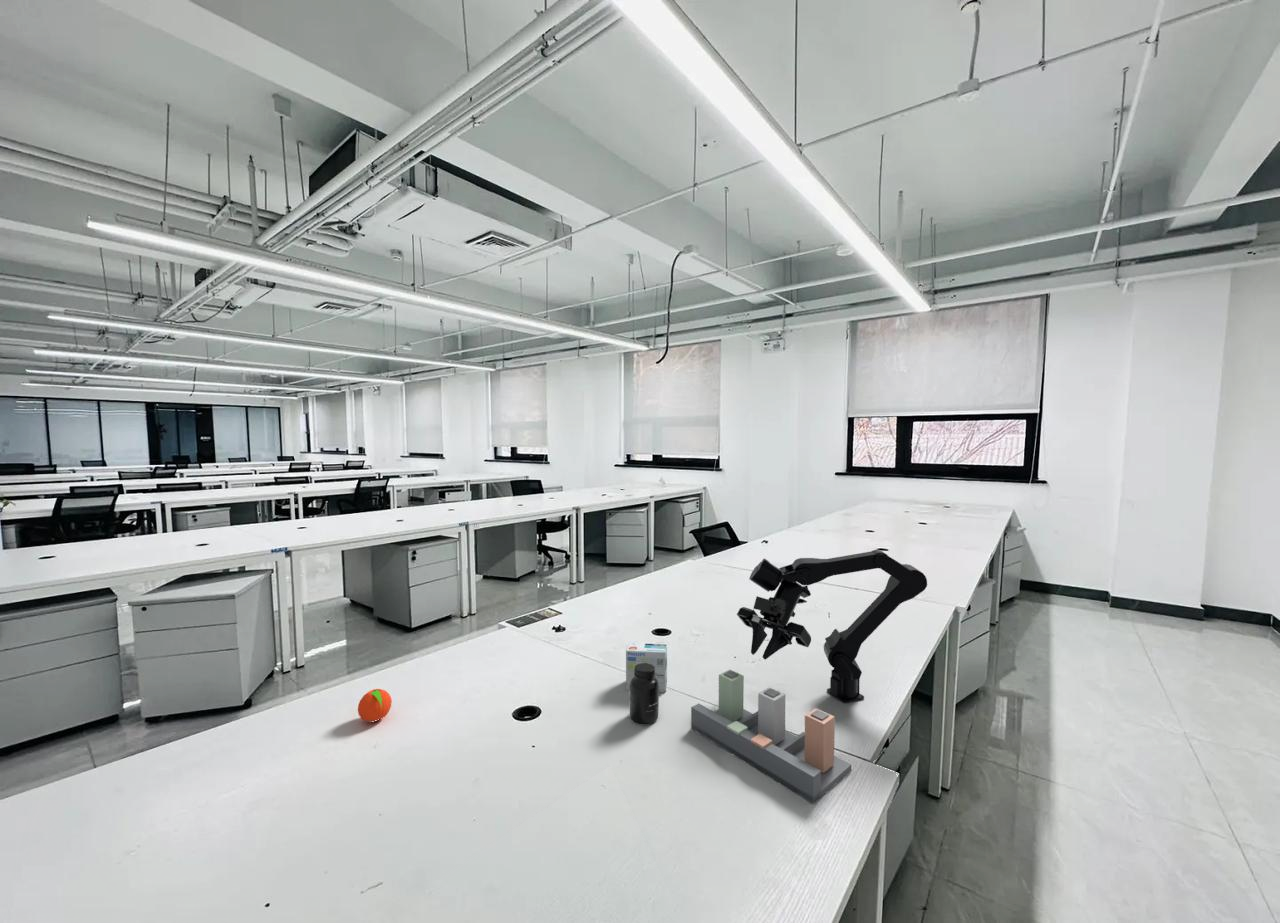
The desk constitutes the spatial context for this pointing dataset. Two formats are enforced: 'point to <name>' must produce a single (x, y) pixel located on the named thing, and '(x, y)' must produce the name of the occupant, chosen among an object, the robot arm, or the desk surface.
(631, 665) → the light bulb box
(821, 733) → the peach tall block
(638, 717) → the supplement bottle
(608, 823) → the desk surface
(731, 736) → the block sorting stand
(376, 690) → the clementine
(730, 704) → the pale green tall block
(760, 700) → the grey block
